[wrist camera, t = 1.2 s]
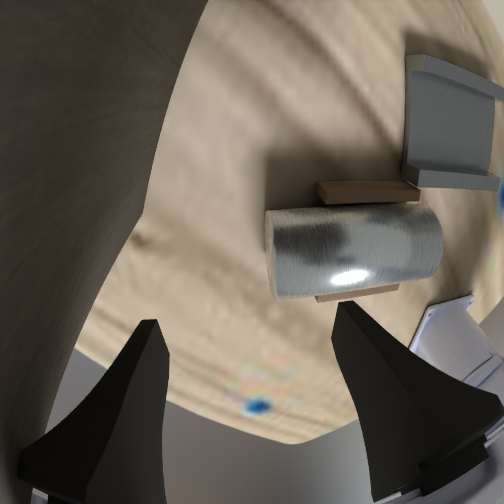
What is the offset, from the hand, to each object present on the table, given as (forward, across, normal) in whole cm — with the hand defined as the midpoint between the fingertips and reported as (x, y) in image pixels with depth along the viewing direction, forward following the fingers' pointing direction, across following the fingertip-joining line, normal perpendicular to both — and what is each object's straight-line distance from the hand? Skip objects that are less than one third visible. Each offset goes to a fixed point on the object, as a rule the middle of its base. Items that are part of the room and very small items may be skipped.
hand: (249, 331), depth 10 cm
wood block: (+10, +13, -18) cm, 24 cm away
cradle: (+10, -17, -8) cm, 21 cm away
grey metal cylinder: (+10, -7, +2) cm, 12 cm away
